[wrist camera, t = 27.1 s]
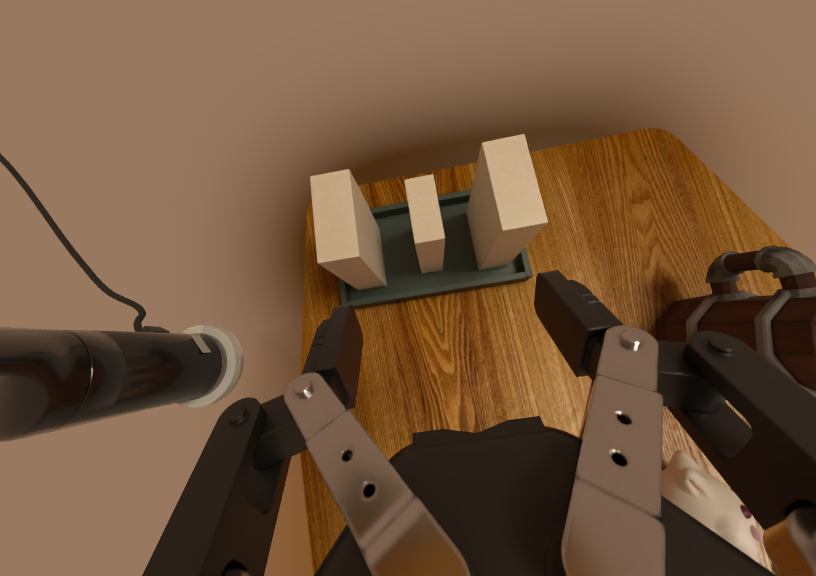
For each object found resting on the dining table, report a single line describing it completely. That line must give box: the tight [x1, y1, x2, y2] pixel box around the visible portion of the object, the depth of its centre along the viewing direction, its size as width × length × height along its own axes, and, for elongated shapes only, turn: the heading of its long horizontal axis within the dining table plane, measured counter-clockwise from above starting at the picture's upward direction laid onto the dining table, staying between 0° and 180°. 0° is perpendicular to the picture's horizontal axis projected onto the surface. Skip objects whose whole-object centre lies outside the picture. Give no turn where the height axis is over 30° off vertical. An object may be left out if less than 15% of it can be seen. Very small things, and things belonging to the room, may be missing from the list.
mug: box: [656, 246, 816, 398], centre depth 29 cm, size 16×12×15 cm
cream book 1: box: [310, 169, 387, 291], centre depth 35 cm, size 4×9×15 cm, turn 8°
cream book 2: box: [466, 134, 548, 271], centre depth 34 cm, size 4×9×15 cm, turn 9°
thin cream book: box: [404, 174, 445, 274], centre depth 35 cm, size 3×7×13 cm, turn 9°
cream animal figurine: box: [661, 451, 765, 567], centre depth 29 cm, size 10×8×15 cm
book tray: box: [338, 190, 533, 309], centre depth 41 cm, size 26×14×3 cm, turn 99°
